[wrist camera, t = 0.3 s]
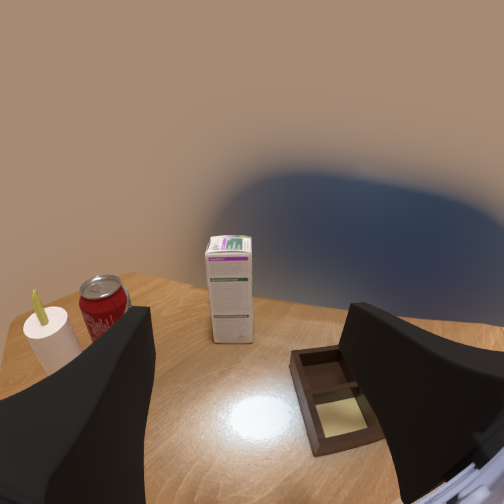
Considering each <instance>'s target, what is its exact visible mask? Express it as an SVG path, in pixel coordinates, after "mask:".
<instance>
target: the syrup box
mask: <svg viewBox="0 0 504 504" xmlns="http://www.w3.org/2000/svg"><path fill="white" fill-rule="evenodd" d="M205 260H206V271H207V283H208V294H209V304H210V313H211V322H212V330H213V339H214V342H215V343H252V340H253V273H252V248H251V237H250V236H239V235H227V236H216V237H211V239H210V242H209V244H208V246H207V249H206V252H205Z"/></svg>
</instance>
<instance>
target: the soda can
mask: <svg viewBox="0 0 504 504" xmlns="http://www.w3.org/2000/svg"><path fill="white" fill-rule="evenodd" d="M80 294H81V297H80V300H79V306H80V309H81V312H82V315H83V318H84V321H85V323H86V326H87V329H88V331H89V334H90V336H91V339H92V341H93V343H94V342H95V341H96V340H97V339H98V338H99V337H100V336H102V335H103V334H104V333H105V332H106V331H107V330H108V329H109V328H110V327H111V326H112V325H113V324H114V323H115V322H116V321H117V320H118V319H119V318H120V317H121V316H122V315H123V314H124V313H125V312H127V311H128V310H129V309H130V308H131V307H132V305H131V301H130V296H129V292H128V290H127V289H126V288H125V287H124V286H123V285H122V284H121V280H120V278H119V277H117V276H115V275H109V274H108V275H99V276H95V277H93V278H90V279H88V280H87V281H86V282H84V283H83V284H82V285H81V287H80Z"/></svg>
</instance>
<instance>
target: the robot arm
mask: <svg viewBox="0 0 504 504" xmlns="http://www.w3.org/2000/svg"><path fill="white" fill-rule="evenodd" d="M338 347H339V349H340V352H341V354H342V357H343V359H344V362H345V364H346V366H347V368H348V370H349V371H350V373H351V375H352V376H353V378H354V380H355V381H356V383H357V385H358V386H359V388H360V389H361V391H362V393H363V394H364V396H365V398H366V399H367V401H368V402H369V404H370V406H371V407H372V409H373V411H374V413H375V415H376V417H377V419H378V421H379V424H380V426H381V428H382V431H383V433H384V436H385V438H386V441H387V444H388V447H389V449H390V452H391V455H392V459H393V462H394V466H395V469H396V474H397V478H398V483H399V489H400V496H401V500H402V502H403V503H404V504H411V503H413V502H415V501H416V500H418V499H420V498H421V497H423V496H424V495H426V494H428V493H429V492H431V491H432V490H434V489H435V488H437V487H438V486H440V485H441V484H443V483H444V482H446V483H445V484H444V485H443V486H441V487H440V488H438V489H437V490H435V491H434V492H432V493H431V494H429V495H428V496H426V497H425V498H423V499H421V500H420V501H418V502H416V503H415V504H444V503H446V502H447V503H446V504H504V352H500V351H492V350H486V349H481V348H476V347H472V346H468V345H464V344H461V343H457V342H454V341H451V340H448V339H446V338H443V337H440V336H438V335H435V334H433V333H430V332H428V331H426V330H424V329H421V328H419V327H417V326H415V325H413V324H411V323H409V322H406V321H404V320H402V319H400V318H398V317H396V316H394V315H392V314H390V313H388V312H386V311H384V310H382V309H379V308H377V307H375V306H372V305H370V304H367V303H364V302H362V303H351V304H350V308H349V311H348V315H347V318H346V322H345V325H344V328H343V332H342V335H341V338H340V341H339V344H338ZM155 359H156V352H155V345H154V338H153V330H152V322H151V313H150V307H142V306H132V307H131V308H130V309H129V310H128V311H127V312H125V313H124V314H123V315H122V316H121V317H120V318H119V319H118V320H117V321H116V322H115V323H114V324H113V325H112V326H111V327H110V328H109V329H108V330H107V331H106V332H105V333H104V334H103V335H102V336H100V337H99V338H98V339H97V340H96V341H95V342H94V343H92V344H91V345H90V346H89V347H88V348H87V349H85V350H84V351H83V352H82V353H81V354H80V355H78V356H77V357H76V358H74V359H73V360H72V361H70V362H69V363H68V364H66V365H65V366H63V367H62V368H61V369H59V370H58V371H56V372H55V373H53V374H52V375H50V376H48V377H46V378H45V379H43V380H41V381H39V382H38V383H36V384H34V385H32V386H31V387H29V388H27V389H25V390H23V391H21V392H19V393H17V394H15V395H12V396H10V397H8V398H5V399H3V400H0V504H146V500H145V487H144V436H145V428H146V422H147V416H148V410H149V404H150V399H151V393H152V387H153V382H154V373H155Z"/></svg>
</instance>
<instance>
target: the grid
mask: <svg viewBox="0 0 504 504" xmlns="http://www.w3.org/2000/svg"><path fill="white" fill-rule="evenodd" d="M289 367H290V371H291V374H292V378H293V382H294V385H295V389H296V392H297V396H298V400H299V403H300V407H301V411H302V414H303V418H304V422H305V425H306V429H307V433H308V436H309V440H310V444H311V447H312V451H313V455H314V457H317V456H322V455H326V454H331V453H335V452H339V451H343V450H347V449H351V448H355V447H358V446H362V445H365V444H368V443H372V442H375V441H378V440H381V439H384V438H385V436H384V433H383V431H382V428H381V426H380V424H379V421H378V419H377V417H376V415H375V413H374V411H373V409H372V407H371V406H370V404H369V402H368V401H367V399H366V398H365V396H364V394H363V393H362V391H361V389H360V388H359V386H358V385H357V383H356V381H355V380H354V378H353V376H352V375H351V373H350V371H349V370H348V368H347V366H346V364H345V362H344V359H343V357H342V354H341V352H340V349H339V347H338V345H334V346H327V347H319V348H311V349H302V350H293V351H291V358H290V364H289Z"/></svg>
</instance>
